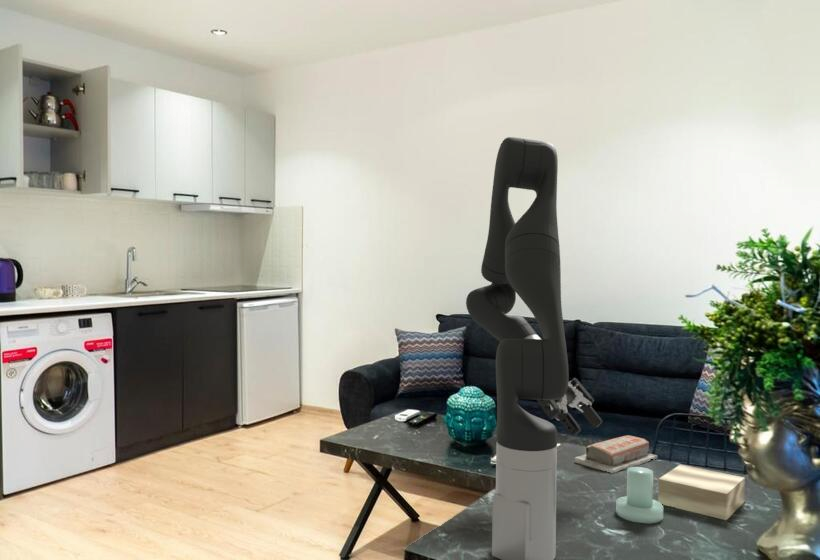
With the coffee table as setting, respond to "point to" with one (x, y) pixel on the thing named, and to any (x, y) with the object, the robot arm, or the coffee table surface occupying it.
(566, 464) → the coffee table surface
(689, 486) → the block
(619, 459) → the packaged product
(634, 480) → the mint green knob
